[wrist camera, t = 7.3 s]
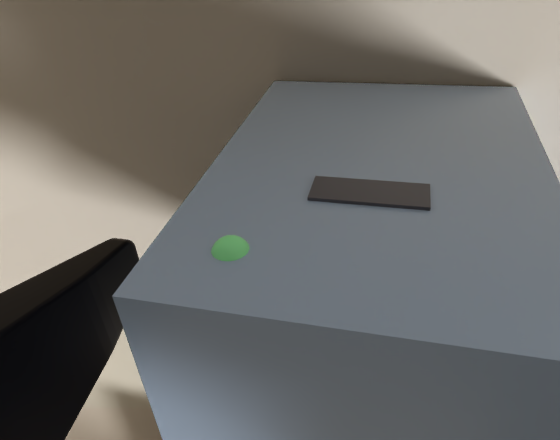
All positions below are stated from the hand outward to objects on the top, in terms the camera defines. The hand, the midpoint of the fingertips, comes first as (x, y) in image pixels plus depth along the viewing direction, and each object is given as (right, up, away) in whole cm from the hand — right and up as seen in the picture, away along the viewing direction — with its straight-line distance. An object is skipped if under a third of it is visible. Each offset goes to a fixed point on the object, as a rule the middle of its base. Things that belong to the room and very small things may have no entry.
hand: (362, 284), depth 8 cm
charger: (+1, +1, +4) cm, 4 cm away
